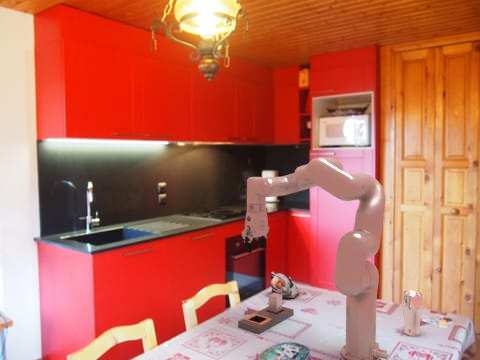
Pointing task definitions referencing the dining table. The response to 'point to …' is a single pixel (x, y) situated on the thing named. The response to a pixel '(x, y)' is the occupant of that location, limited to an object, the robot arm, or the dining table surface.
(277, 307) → the steel peg
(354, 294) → the robot arm
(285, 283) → the lucky cat figurine
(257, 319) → the hole rail
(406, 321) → the beer glass
